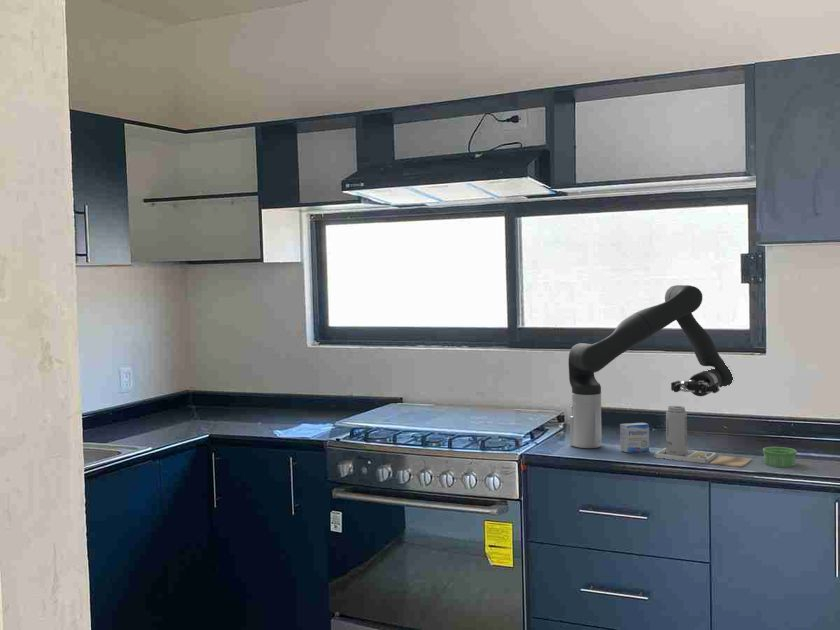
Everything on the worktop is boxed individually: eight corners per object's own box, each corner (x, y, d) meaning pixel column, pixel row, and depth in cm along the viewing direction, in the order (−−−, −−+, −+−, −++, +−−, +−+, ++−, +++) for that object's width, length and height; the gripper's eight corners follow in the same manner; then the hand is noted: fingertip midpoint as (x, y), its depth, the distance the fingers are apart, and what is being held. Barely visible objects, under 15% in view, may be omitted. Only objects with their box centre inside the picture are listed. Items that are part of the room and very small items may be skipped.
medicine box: (626, 453, 258) (626, 425, 258) (619, 450, 262) (619, 423, 262) (649, 451, 260) (649, 424, 260) (642, 448, 264) (641, 421, 264)
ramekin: (757, 465, 240) (757, 450, 240) (770, 460, 246) (770, 445, 246) (789, 469, 233) (789, 454, 233) (801, 464, 240) (801, 449, 240)
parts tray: (654, 457, 251) (654, 453, 251) (665, 451, 260) (665, 447, 260) (706, 463, 243) (706, 458, 242) (716, 456, 251) (716, 452, 251)
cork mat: (710, 464, 242) (710, 462, 242) (720, 456, 251) (720, 455, 251) (742, 467, 237) (742, 466, 237) (751, 460, 246) (751, 458, 246)
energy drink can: (664, 454, 256) (664, 405, 255) (685, 454, 255) (685, 405, 254) (667, 458, 250) (667, 408, 249) (688, 458, 249) (688, 408, 249)
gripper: (681, 371, 279) (666, 376, 266) (725, 373, 271) (711, 379, 257) (682, 393, 279) (666, 400, 266) (725, 396, 271) (711, 403, 258)
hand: (688, 389), depth 262 cm, fingers open, 8 cm apart
